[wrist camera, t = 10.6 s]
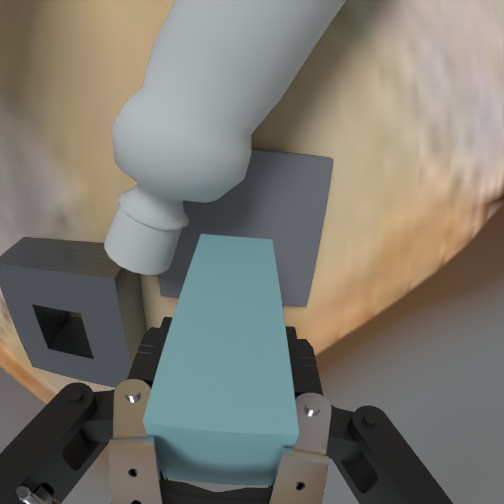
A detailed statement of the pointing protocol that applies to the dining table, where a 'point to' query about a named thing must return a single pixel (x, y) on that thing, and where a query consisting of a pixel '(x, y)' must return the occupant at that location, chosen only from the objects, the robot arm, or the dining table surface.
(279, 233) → the mat
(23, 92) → the dining table surface
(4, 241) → the dining table surface
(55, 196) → the dining table surface
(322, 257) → the dining table surface
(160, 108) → the bottle
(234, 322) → the peg
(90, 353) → the socket block
